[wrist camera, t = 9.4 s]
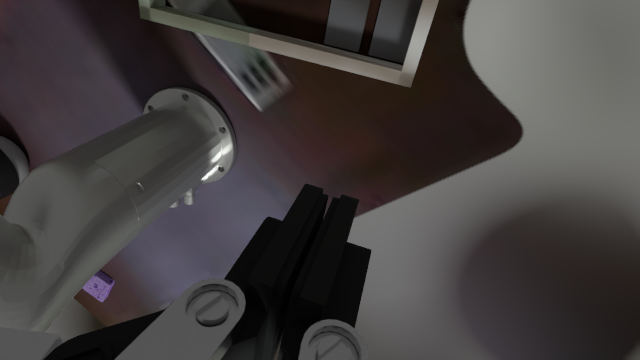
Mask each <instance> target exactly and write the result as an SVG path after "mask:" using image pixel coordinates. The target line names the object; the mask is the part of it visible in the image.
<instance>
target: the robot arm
mask: <svg viewBox="0 0 640 360" xmlns="http://www.w3.org/2000/svg"><path fill="white" fill-rule="evenodd" d="M236 151H237V145H236V137H235V134H234V131H233V128H232V126H231V124H230V122H229V120H228V118H227V117H226V116H225V114H224V113H223V111H222V110H221V109H220V108H219V107H218V106H217V105H216V104H215V103H214V102H213V101H212V100H210V99H209V98H208V97H206V96H205V95H203V94H201V93H199V92H197V91H195V90H192V89H189V88H184V87H171V88H167V89H164V90H162V91H160V92H158V93H156V94H154V95H153V96H152V97H151V98H150V99H149V100H148V102H147V103H146V105H145V108H144V111H143V115H142V116H140V117H138V118H136V119H134V120H132V121H130V122H128V123H126V124H124V125H121V126H119V127H117V128H115V129H113V130H111V131H109V132H107V133H105V134H103V135H101V136H99V137H97V138H95V139H92V140H90V141H88V142H86V143H84V144H82V145H80V146H78V147H76V148H74V149H72V150H70V151H68V152H66V153H63V154H61V155H59V156H57V157H55V158H53V159H51V160H49V161H47V162H45V163H43V164H41V165H40V166H38V167H36V168H35V169H34V170H33V171H31V172H30V173H29V174H28V175H27V176H26V177H25V178H24V179H23V180H22V181H21V183H20V184H19V185H18V187H17V189H16V190H15V192H14V193H13V195H12V197H11V199H10V201H9V204H8V206H7V208H6V210H5V213H4V215H3V216H2V215H1V214H0V360H273V359H274V356H275V354H276V351H277V349H278V346H279V344H280V342H281V345H280V351H279V356H278V360H369V357H368V350H367V346H366V343H365V341H364V339H363V337H362V336H361V335H360V334H359V333H358V331H357V330H356V329H355V323H356V319H357V314H358V310H359V305H360V300H361V296H362V292H363V287H364V283H365V278H366V273H367V269H368V264H369V259H370V255H371V250H370V249H367V248H364V247H361V246H357V245H355V244H352V243H348V242H347V239H348V236H349V232H350V229H351V226H352V223H353V219H354V216H355V212H356V209H357V206H358V202H359V200H358V199H355V198H352V197H348V196H345V195H341V197H340V199H339V198H335V197H333V199H332V201H331V204H330V206H329V208H328V210H327V213H326V215H325V217H324V213H325V209H326V205H327V201H328V195H326V194H323V189H322V188H319V187H316V186H313V185H309V184H305V185H304V187H303V188H302V190H301V192H300V193H299V195H298V197H297V198H296V200H295V201H294V203H293V205H292V206H291V208H290V210H289V211H288V213H287V215H286V216H285V218H284V220H283V221H281V220H278V219H275V218H272V217H267V218H266V219H265V220H264V221H263V223H262V224H261V226H260V227H259V229H258V230H257V232H256V233H255V235H254V236H253V238H252V239H251V240H250V242H249V243H248V245H247V246H246V248H245V249H244V251H243V252H242V254H241V255H240V257H239V258H238V259H237V261H236V262H235V264H234V265H233V267H232V268H231V270H230V271H229V273H228V274H227V276H226V277H225V278H224V279H215V278H213V279H207V280H203V281H200V282H198V283H195V284H194V285H192V286H191V287H189V288H188V289H187V290H186V291H185V292H184V293H183V294H182V295H181V296H179V297H178V298H177V299H176V300H175V301H174V302H173V303H172V304H171V305H170V306H169V307H168V308H167V309H166V310H163V311H159V312H156V313H152V314H149V315H146V316H142V317H139V318H136V319H132V320H129V321H126V322H122V323H119V324H116V325H112V326H109V327H106V328H102V329H99V330H96V331H93V332H89V333H86V334H83V335H79V336H77V337H74V338H72V339H70V340H64V339H61V338H60V335H59V334H51V333H45V332H46V330H47V329H48V328H49V327H50V325H51V324H52V323H53V322H54V320H55V319H56V318H57V317H58V316H59V314H60V313H61V312H62V311H63V309H64V308H65V307H66V305H67V304H68V303H69V302H70V301H71V300H72V298H73V297H74V296H75V295H76V294H77V293H78V292H79V291H80V290H81V288H82V287H83V286H84V285H85V284H86V283H87V282H88V281H89V280H90V279H91V278H92V277H93V276H94V275H95V274H96V273H97V272H98V271H99V270H100V269H101V268H102V267H103V266H104V265H105V264H106V263H107V262H108V261H109V260H111V259H112V258H113V257H114V256H115V255H116V254H117V253H118V252H119V251H120V250H122V249H123V248H124V247H125V246H126V245H127V244H128V243H129V242H131V241H132V240H133V239H134V238H135V237H136V236H138V235H139V234H140V233H141V232H142V231H143V230H144V229H146V228H147V227H148V226H149V225H150V224H151V223H152V222H153V221H155V220H156V219H157V218H158V217H159V216H160V215H161V214H162V213H164V212H165V211H166V210H167V209H168V208H169V207H177V206H179V205H180V203H181V202H180V198H181V197H182V196H183V195H184V203H185V204H188V205H191V204H193V203H194V202H195V193H194V190H195V189H196V188H197V187H198V186H200V185H201V184H202V183H210V182H214V181H216V180H219V179H220V178H222V177H223V176H224V175H225V174H226V173H227V172H228V171H229V170H230V169H231V167H232V165H233V164H234V161H235V158H236ZM323 218H324V219H323ZM281 339H282V340H281Z"/></svg>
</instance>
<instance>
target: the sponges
mask: <svg viewBox="0 0 640 360" xmlns="http://www.w3.org/2000/svg"><path fill="white" fill-rule="evenodd" d="M114 282H115V281H114V280H113V279H112V278H110V277H109V276H107V275H106V274H104V273H103V272H101V271H100V270H99V271H98V272H97V273H96V274H95V275H94V276H93V277H92V278H91V279H90V280H89V281H88V282H87V283H86V284H85V285H84V286H83V287H82V288H83V289H84V290H85V291H87V292H88V293H89V294H91V295H93V297H95V298H96V299H98V300H99V301H101V302H103V301H104V300H105V299H106V298H107V296H108V294H109V292H110V290H111V288H112V286H113V284H114Z"/></svg>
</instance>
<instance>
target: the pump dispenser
mask: <svg viewBox="0 0 640 360" xmlns="http://www.w3.org/2000/svg"><path fill="white" fill-rule="evenodd" d="M28 173H29V164H28V161H27V158H26V156H25V154H24V153H23V151H22V150H21V149H20V148H19V147H18V146H17V145H16V144H15V143H13V142H12V141H11V140H9V139H7V138H5V137H3V136H0V199H2V198H5V197H7V196H9V195H11V194H13V193H14V192H15V190H16V189H17V187H18V185H19V184H20V183H21V181H22V180H23V179H24V178H25V177H26V176H27V175H28Z"/></svg>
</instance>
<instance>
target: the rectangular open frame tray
mask: <svg viewBox="0 0 640 360" xmlns="http://www.w3.org/2000/svg"><path fill="white" fill-rule="evenodd" d="M438 1H439V0H382V1H381V5H380V9H379V13H378V17H377V21H376V25H375V29H374V33H373V37H372V41H371V46H370V50H369V54H368V55H371V56H375V57H379V58H383V59H387V60H391V61H395V62H399V63H403V64H404V65H400V64H396V63H392V62H388V61H384V60H380V59H376V58H372V57H368V56H364V55H360V54H356V53H352V52H348V51H344V50H340V49H336V48H332V47H328V46H324V45H320V44H316V43H312V42H308V41H304V40H300V39H296V38H292V37H288V36H284V35H280V34H276V33H272V32H268V31H264V30H260V29H256V28H252V27H248V26H244V25H240V24H236V23H232V22H228V21H224V20H220V19H216V18H212V17H208V16H204V15H200V14H196V13H192V12H188V11H184V10H180V9H176V8H172V7H168V6H165V0H139V10H140V18H142V19H146V20H150V21H154V22H158V23H162V24H166V25H169V26H173V27H177V28H181V29H185V30H189V31H193V32H197V33H201V34H204V35H208V36H212V37H216V38H220V39H224V40H228V41H232V42H235V43H239V44H243V45H247V46H251V47H255V48H259V49H263V50H267V51H270V52H274V53H278V54H282V55H286V56H290V57H294V58H298V59H302V60H305V61H309V62H313V63H317V64H321V65H325V66H329V67H333V68H337V69H340V70H344V71H348V72H352V73H356V74H360V75H364V76H368V77H372V78H375V79H379V80H383V81H387V82H391V83H395V84H399V85H403V86H407V87H411V84H412V81H413V78H414V75H415V72H416V69H417V66H418V63H419V60H420V57H421V53H422V50H423V47H424V44H425V41H426V38H427V35H428V32H429V29H430V26H431V23H432V20H433V16H434V13H435V10H436V7H437V4H438ZM369 4H370V0H331V6H330V11H329V17H328V23H327V28H326V34H325V40H324V44H327V45H331V46H335V47H339V48H343V49H347V50H351V51H355V52H359V48H360V44H361V39H362V35H363V30H364V26H365V22H366V17H367V13H368V9H369Z"/></svg>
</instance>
